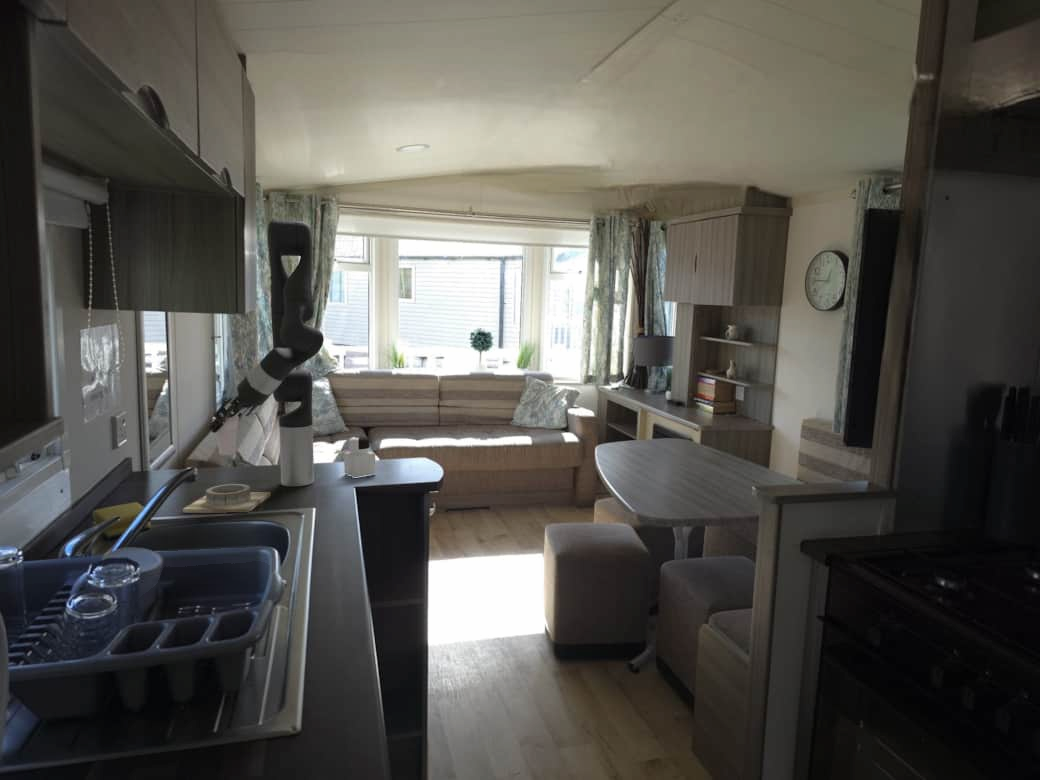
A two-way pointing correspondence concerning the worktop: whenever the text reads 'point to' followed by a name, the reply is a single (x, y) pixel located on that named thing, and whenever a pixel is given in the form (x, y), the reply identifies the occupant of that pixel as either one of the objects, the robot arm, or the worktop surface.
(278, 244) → the robot arm
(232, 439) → the smoothie
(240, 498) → the collar stand
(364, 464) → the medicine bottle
